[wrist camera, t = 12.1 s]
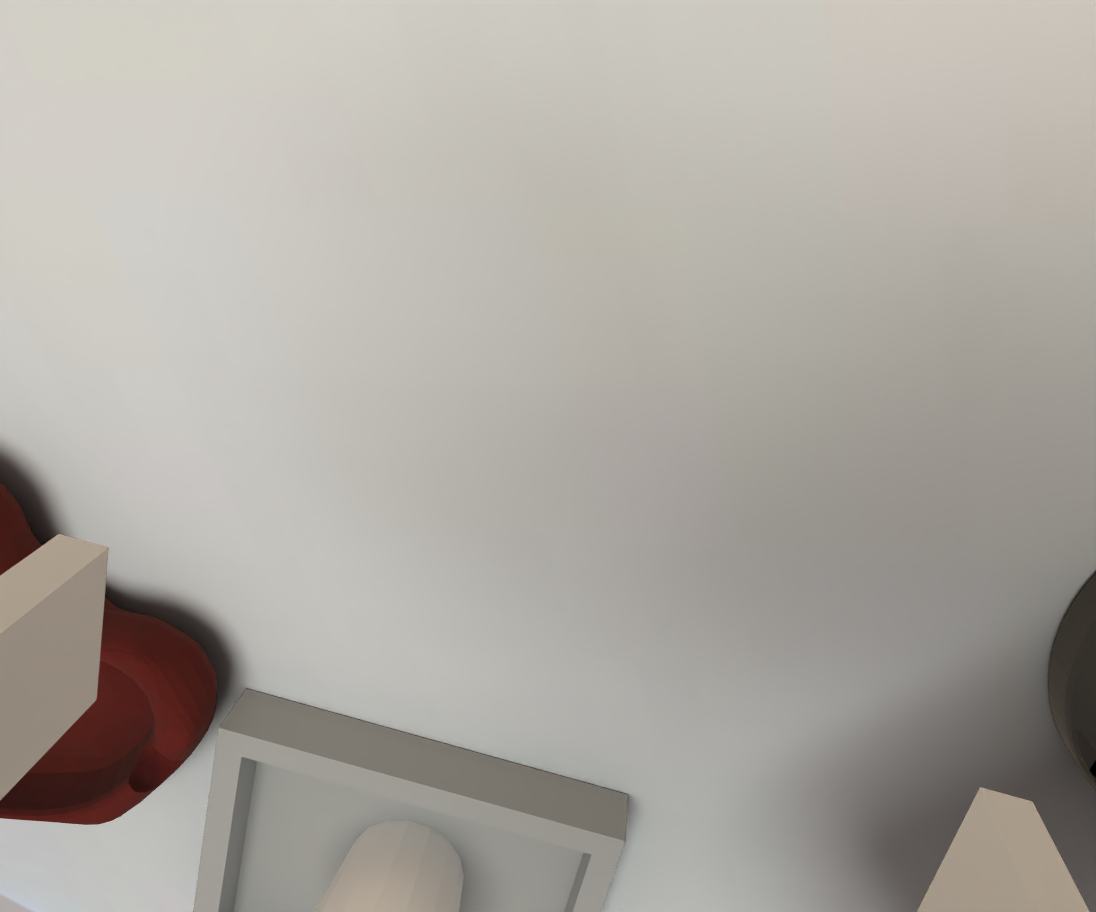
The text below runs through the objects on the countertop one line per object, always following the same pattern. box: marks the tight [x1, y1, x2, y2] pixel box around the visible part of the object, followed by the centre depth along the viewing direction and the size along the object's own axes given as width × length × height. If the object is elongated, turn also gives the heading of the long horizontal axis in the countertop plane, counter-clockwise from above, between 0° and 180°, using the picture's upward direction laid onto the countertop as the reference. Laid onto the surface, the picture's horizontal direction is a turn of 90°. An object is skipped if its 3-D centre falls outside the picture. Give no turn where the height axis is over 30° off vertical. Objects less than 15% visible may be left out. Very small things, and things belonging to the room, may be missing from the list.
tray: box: [193, 689, 628, 912], centre depth 46 cm, size 18×14×3 cm
